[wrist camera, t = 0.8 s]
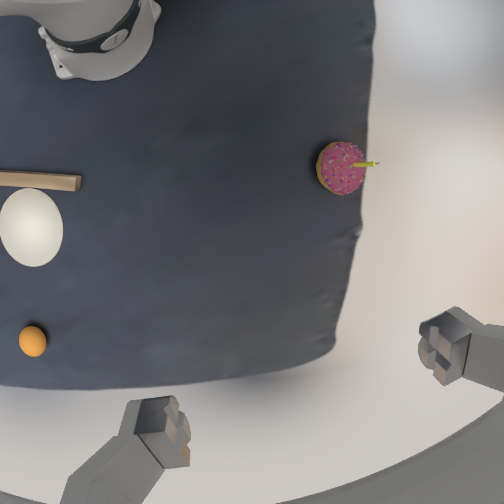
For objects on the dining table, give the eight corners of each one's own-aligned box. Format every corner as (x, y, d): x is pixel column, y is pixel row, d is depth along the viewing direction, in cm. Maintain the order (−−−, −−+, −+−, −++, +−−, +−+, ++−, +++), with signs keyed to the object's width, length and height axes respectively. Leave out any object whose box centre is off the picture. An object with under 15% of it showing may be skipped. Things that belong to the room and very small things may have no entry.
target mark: (-12, 223, 37) (-13, 223, 37) (32, 171, 38) (32, 171, 37) (31, 280, 42) (30, 281, 42) (78, 233, 43) (77, 234, 43)
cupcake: (331, 131, 48) (373, 129, 37) (357, 169, 52) (401, 177, 41) (296, 163, 48) (332, 167, 37) (325, 201, 52) (364, 215, 41)
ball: (20, 330, 44) (10, 345, 39) (34, 315, 44) (24, 331, 39) (40, 350, 46) (31, 367, 41) (54, 336, 46) (46, 353, 41)
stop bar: (80, 188, 41) (74, 191, 38) (-10, 181, 35) (-19, 184, 33) (81, 175, 40) (76, 177, 38) (-9, 169, 35) (-18, 171, 32)
